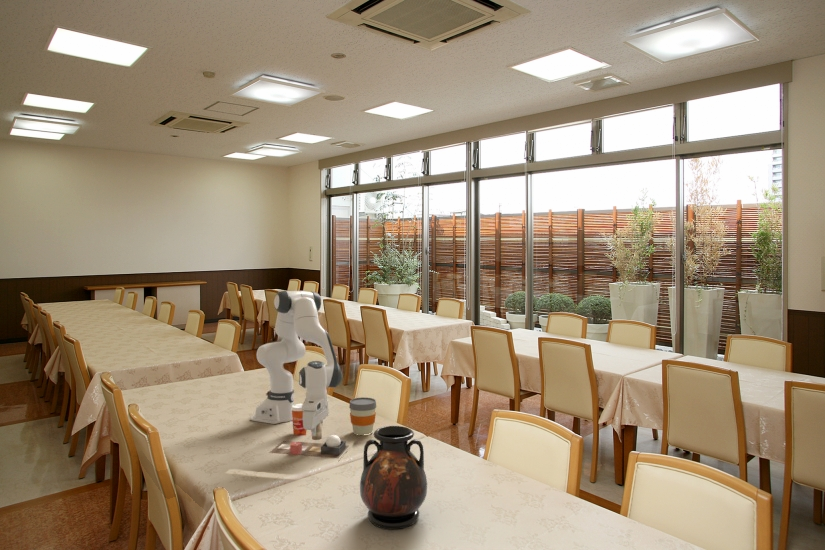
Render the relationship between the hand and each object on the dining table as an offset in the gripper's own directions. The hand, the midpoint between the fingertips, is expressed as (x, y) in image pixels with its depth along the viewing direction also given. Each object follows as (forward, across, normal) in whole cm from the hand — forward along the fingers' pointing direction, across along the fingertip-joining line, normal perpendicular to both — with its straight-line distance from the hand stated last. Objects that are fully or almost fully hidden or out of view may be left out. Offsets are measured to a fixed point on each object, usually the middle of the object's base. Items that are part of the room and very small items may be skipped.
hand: (316, 433), depth 224 cm
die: (+7, +5, -7) cm, 11 cm away
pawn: (+2, 0, 0) cm, 2 cm away
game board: (+8, 0, -3) cm, 9 cm away
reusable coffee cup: (+9, -28, +12) cm, 32 cm away
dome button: (+6, 0, +7) cm, 10 cm away
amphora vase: (+9, +46, +44) cm, 64 cm away
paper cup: (+8, -18, -15) cm, 25 cm away
